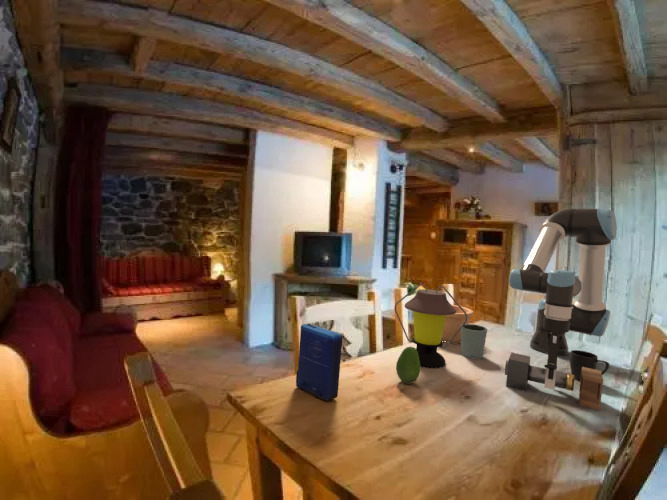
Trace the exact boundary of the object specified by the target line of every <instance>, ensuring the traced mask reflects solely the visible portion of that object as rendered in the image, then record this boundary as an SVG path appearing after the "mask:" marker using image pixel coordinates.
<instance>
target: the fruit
mask: <svg viewBox="0 0 667 500" xmlns="http://www.w3.org/2000/svg"><path fill="white" fill-rule="evenodd" d="M395 369H396V374H397V377H398V378H399V380H400V381H401V382H403V383H405V384H412V383H414V382H416V381H417V379H418V378H419V376H420V373H421V367H420V361H419V356H418V352H417V350H416V347H413V346H406V347H405V348H404V349H403V350H402V351H401V353H400V355H399V357H398V359H397V361H396V367H395Z"/></svg>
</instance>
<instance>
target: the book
mask: <svg viewBox="0 0 667 500" xmlns="http://www.w3.org/2000/svg"><path fill="white" fill-rule="evenodd" d="M342 348H343V334H342V333H341V332H339V331H334V330H331V329H327V328H324V327H320V326H317V325H315V324H312V323H307V324H306V323H303V324H301V326H300V336H299V349H298V350H299V351H298V365H297V366H298V367H297V370H296V375H295V386H296V387H297V388H298V389H301V390H303V391H304V392H306V393H308V394H310V395H312V396H315V397H317V398H319V399H321V400H323V401H325V400H326V401H329V402H330V401H333V400H334V399H336V398H338V397H339V396H338V395H339V382H340V372H341V358H342V357H341V356H342Z"/></svg>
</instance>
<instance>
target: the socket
mask: <svg viewBox="0 0 667 500" xmlns="http://www.w3.org/2000/svg"><path fill="white" fill-rule="evenodd" d="M601 373H602V371H601V369H600V370H599V369H596V370H595V369H591V368H586V367H582V372H581V380H580V381H579V383H580V384H579V390H578V391H579V392H578V398H579V399H578V400H579V406H582V407H584V408H585V407H586V408H589V409H594V410H598V411H600V409H601V402H602V395H603V394H602V393H603V384H604V377H603V375H602V374H601Z"/></svg>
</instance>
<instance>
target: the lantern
mask: <svg viewBox="0 0 667 500" xmlns="http://www.w3.org/2000/svg"><path fill="white" fill-rule="evenodd" d="M420 286H423V287H424V288H425V289H424V288H423V289H418V288H419V287H420ZM440 288H442V289H443V290H444V291H445V292H444V291H440V290H439V289H440ZM417 289H418V290H417ZM415 290H416V292H415ZM413 292H415V293H416V294H415V296H413V298H411V299H409V300H408V301H407V302H406V303H404V308H405V309H407V310H408V311H412V313H413V314H412V315H413V329H414V330H413V334H414V337H412V338H411V339H410V338H409V336H408V334H407V332H406V329H405V326H404V325H403V322H402V320H401V318H400V316H399V313H398V311H397V306H398V305H399V303H401V302H402V301H403V300H404V299H405V298H406V297H407V298H408V296H409V295H410V294H412V293H413ZM447 295H448V296H449V297H450V298H451V300H452V301H454V303H455V305H457V306H459V307H460V309H461V310H462V311H463V312H464V313H465V316H466V320H465V322H464V323H463V324H462V326H461V327H460V328H459V330H458V331H457V332H456V334H455V335H454V336H453V338H452V339H451V340H450V342H449V343H446V345H445V346H443V342H442V341H441V338H442V333H443V329H444V324H445V320H446V315H452V314H455V313H456V309H455V308H454V307H453V306H452V305H453V304H452V303H450V302H449V300H448V298H447ZM462 307H463V306H462ZM462 307H461V305H460V304H459V302H457V300H456V299H455V298H454V297H453V295H452V294H451V293H450V292H449V291H448V290H447V288H446V287H445V286H444V285H441V286H439V287H438V288H436V290H434V289H427V286H426V285H425V284H424V283H421V282H420V283H419V284H418V285H416V287H414V288H413V289H412V290H411V291H409V292H408V293H407V294H406V295H404V296H403V297H402V298H400V299H399V300H398V301H396V303H395V305H394V307H393V308H394V312H395V316H397V319H398V322H399V324H400V326H401V329H402V330H403V333H404V335H405V338H406V340H407V341H408V342H410V343H413V344H415V345H416V347H415V348H416V350H417V352H418V356H419V361H420V368H424V367H425V369H440V367H441V368H443V367H445V366H446V359H445V358H444V356H443V355H442V354H441V353H439V352H438V348H442V349H446V348H448V347H449V346H450V345H451V344H452V343H451V342H452V340H453V339H454V338H455V336H456V335H457V334H458V333H459V331H460V330H461V329H462V327H463V326H464V325H465V323H466V322H467V314H466V312H465V311H464V310H463V308H462ZM444 365H445V366H444Z"/></svg>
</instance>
